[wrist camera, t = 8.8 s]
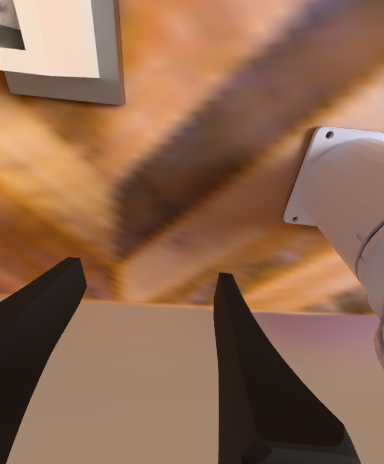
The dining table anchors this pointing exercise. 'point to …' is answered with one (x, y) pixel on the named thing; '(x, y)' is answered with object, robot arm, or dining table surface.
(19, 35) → the square tube cup
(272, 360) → the robot arm
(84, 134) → the dining table surface
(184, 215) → the dining table surface
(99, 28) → the shaft block
